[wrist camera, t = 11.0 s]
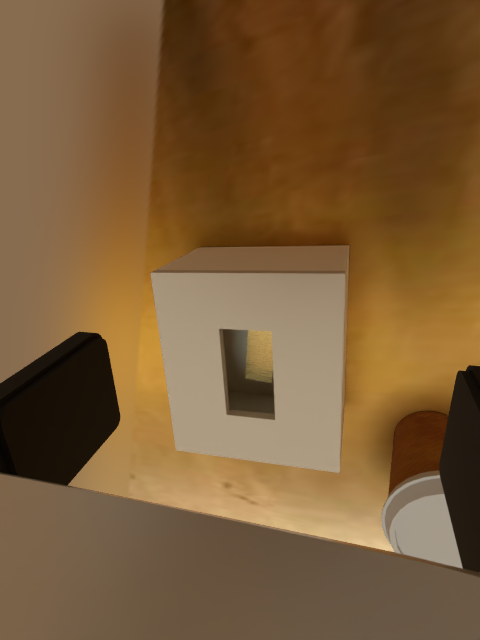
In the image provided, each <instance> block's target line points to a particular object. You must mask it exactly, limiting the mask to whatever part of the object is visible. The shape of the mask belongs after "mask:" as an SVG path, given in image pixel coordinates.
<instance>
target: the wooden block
mask: <svg viewBox="0 0 480 640" xmlns="http://www.w3.org/2000/svg"><path fill="white" fill-rule="evenodd" d="M245 378H246V379H251V380H257V381H262V382H268V383H272V381H273V379H274V378H273V352H272V331H256V330H248V336H247V355H246V373H245Z"/></svg>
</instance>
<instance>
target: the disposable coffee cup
mask: <svg viewBox="0 0 480 640" xmlns="http://www.w3.org/2000/svg"><path fill="white" fill-rule="evenodd" d="M447 422H448V416H447V415H445V414H442V413H438V412H432V411H421V412H416V413H413V414H410V415H408V416H407V417H405V418H404V419H403V420H401V421H400V422H399V424H398V425H397V427H396V429H395V432H394V442H393V452H392V463H391V473H390V485H389V495H388V499H387V500H386V502H385V504H384V506H383V511H382V528H383V530H384V533H385V536H386V538H387V539H388V541H389V543H390V544H391V546H392V547H393V549H394V551H395V553H400V554H405V555H409V556H413V557H417V558H421V559H425V560H429V561H433V562H437V563H442V564H446V565H450V566H454V567H458V568H462V564H461V560H460V555H459V551H458V547H457V543H456V539H455V535H454V531H453V527H452V523H451V519H450V515H449V511H448V507H447V503H446V499H445V495H444V491H443V487H442V483H441V479H440V472H439V463H440V457H441V452H442V447H443V442H444V437H445V432H446V427H447ZM462 569H463V568H462Z"/></svg>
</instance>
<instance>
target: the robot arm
mask: <svg viewBox="0 0 480 640" xmlns="http://www.w3.org/2000/svg"><path fill="white" fill-rule="evenodd" d="M119 421H120V412H119V406H118V402H117V395H116V390H115V385H114V380H113V374H112V369H111V364H110V358H109V352H108V348H107V343H106V341H105V340H104V339H102V337H101V335H99V334H97V333H87V332H78V333H76V334H74V335H73V336H71V337H70V338H68V339H67V340H65V341H64V342H62V343H61V344H60V345H58V346H56V347H55V348H53V349H52V350H50V351H49V352H47V353H46V354H44V355H43V356H41V357H40V358H38V359H37V360H35V361H34V362H32V363H31V364H29V365H28V366H26V367H24V368H23V369H22V370H20V371H19V372H17V373H15V374H14V375H12V376H11V377H9V378H8V379H6V380H5V381H4V382H2V383H0V640H480V366H470V365H469V366H468V367H467V369H466V371H458V373H457V376H456V381H455V386H454V391H453V396H452V401H451V406H450V411H449V416H448V422H447V427H446V432H445V437H444V442H443V447H442V452H441V457H440V463H439V472H440V479H441V483H442V487H443V491H444V495H445V499H446V503H447V507H448V511H449V515H450V519H451V523H452V527H453V531H454V535H455V539H456V543H457V547H458V551H459V555H460V560H461V564H462V568H463V569H462V568H458V567H454V566H450V565H446V564H442V563H437V562H433V561H429V560H425V559H421V558H417V557H413V556H409V555H405V554H400V553H394V552H390V551H385V550H380V549H375V548H371V547H366V546H361V545H356V544H352V543H347V542H342V541H337V540H332V539H328V538H323V537H318V536H313V535H308V534H304V533H299V532H294V531H289V530H284V529H279V528H275V527H270V526H265V525H260V524H255V523H251V522H246V521H241V520H236V519H231V518H226V517H222V516H217V515H212V514H207V513H202V512H197V511H192V510H187V509H182V508H177V507H172V506H167V505H162V504H157V503H152V502H148V501H143V500H138V499H133V498H128V497H123V496H118V495H113V494H107V493H103V492H97V491H92V490H87V489H82V488H77V487H72V486H67V485H68V484H69V483H70V482H71V480H72V479H73V478H74V477H75V476H76V474H77V473H78V472H79V471H80V470H81V469H82V468H83V466H84V465H85V464H86V463H87V462H88V461H89V460H90V458H91V457H92V456H93V455H94V454H95V453H96V451H97V450H98V449H99V448H100V447H101V445H102V444H103V443H104V442H105V441H106V440H107V439H108V437H109V436H110V435H111V434H112V433H113V432H114V430H115V429H116V428H117V426H118V424H119Z"/></svg>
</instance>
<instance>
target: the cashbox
mask: <svg viewBox="0 0 480 640" xmlns="http://www.w3.org/2000/svg"><path fill="white" fill-rule="evenodd" d="M349 247H350V245H337V246H265V247H199V248H197V249H195V250H193V251H191V252H190V253H188V254H186V255H184V256H182V257H180V258H178V259H176V260H174V261H172V262H170V263H168V264H166V265H164V266H163V267H161V268H159V269H157V270H155V271H153V272H151V280H152V287H153V294H154V300H155V307H156V314H157V321H158V328H159V335H160V342H161V349H162V356H163V363H164V370H165V377H166V384H167V391H168V398H169V405H170V411H171V418H172V425H173V432H174V439H175V446H176V450H178V451H185V452H192V453H199V454H207V455H214V456H221V457H228V458H235V459H243V460H250V461H257V462H264V463H271V464H279V465H286V466H293V467H300V468H308V469H315V470H322V471H329V472H336V473H340V463H341V448H342V434H343V420H344V406H345V376H346V344H347V311H348V279H349ZM248 330H256V331H272V352H273V378H274V379H273V381H272V383H268V382H262V381H257V380H251V379H246V378H245V373H246V355H247V336H248Z"/></svg>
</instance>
